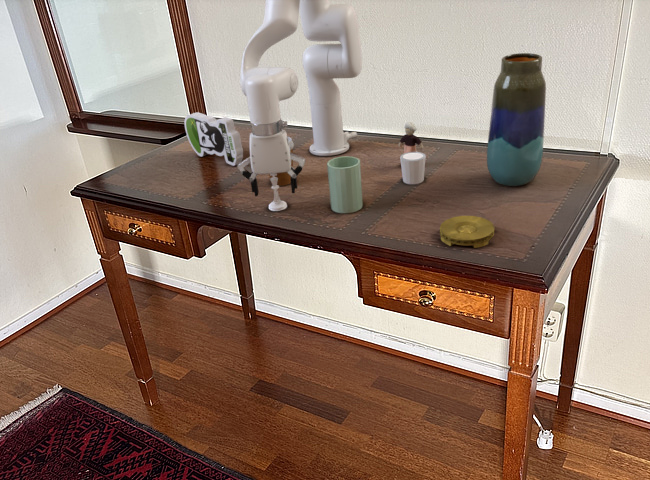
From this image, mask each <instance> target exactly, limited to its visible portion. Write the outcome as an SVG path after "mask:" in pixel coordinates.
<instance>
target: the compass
mask: <svg viewBox="0 0 650 480" xmlns="http://www.w3.org/2000/svg"><path fill="white" fill-rule="evenodd" d="M494 235H495V225H494V223H493V222H492V221H490V220H488V219H487V218H485V217H482V216H481V217H480V216H476V215H458V216H452V217H449V218H446V219H445V220H444V221H442V222H441V223H440V225H439V236H440V240H441V242H442V243H444V244H445V245H447V246H449V247H452V246H453V245H456V246H457V245H458V246H472V247H473V249H477V248H482V247H485V246H487V245H489V241H491V240H492V239H493V237H494Z"/></svg>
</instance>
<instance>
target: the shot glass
mask: <svg viewBox="0 0 650 480" xmlns="http://www.w3.org/2000/svg"><path fill="white" fill-rule="evenodd" d="M426 157H427V154H426V153H423V152H420V151H416V152H408V153H404V152H403V153H402V154H401V155H400V156H399V159H400V166H401V168H400V169H401V177H402V181H403V183H404V184H407V185H419V184H422V183H423V182H424V179H425V169H426V159H427V158H426Z"/></svg>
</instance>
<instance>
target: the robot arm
mask: <svg viewBox="0 0 650 480" xmlns="http://www.w3.org/2000/svg"><path fill="white" fill-rule="evenodd" d="M299 17H300V25H301V29H302V34H303V35H304V38H305V39H306V40H307V41H310V42H319V43H317V44H312V45H309V46H308V47H306V48H305V49H304V51H303V53H302V57H301V61H302V67H303V71H304V74H305V78H306V82H307V83H306V84H307V89H308V97H309V107H310V109H309V110H310V116H311V117H310V118H311V127H312V137H313V143H312V144H311V145H310V146H309V152H310V153H311V154H312V155H313V156H319V157H330V156H331V157H333V156H338V155H342V154H343V153H346V152H347V151H348V150H349V149H350V143H349V142H348V141H350V140H353V139H356V138H358V133H357V131H351V132H349V131H345V132H344V122H343V109H342V97H341V96H342V95H341V91H340V88H339V86H338V84H337V83H336V81H335V80H334V79H354V78H357V77H358V76H359V75H360V74H361V72H362V66H363V57H362V56H363V55H362V54H363V53H362V47H361V46H362V45H361V34H360V26H359V20H358V15H357V11H356V10H355V7H353V6H352V5H351V4H348V3H334V4H333V3H331V2H330V0H265V3H264V11H263V21H262V24H261V25H260V26H259V27H258V28H257V29H256V30H255V32H254V33H253V34H252V36H251V37H250V38H249V40H248V42H247V43H246V46H245V47H244V50H243V53H242V57H241V65H240V74H239V85H240V90H241V92H242V94H243V96H245V97H246V101H247V108H248V114H249V121H250V122H249V124H250V129H251V132H249V137H248V138H249V141H248V142H249V156H248V157H247V158H245V159H243V160H242V162H240V163H239V164H237V165H236V167H237V169H238V171H239V172H240V173H241V175H242V176H243V177H244V178H245V179H247V180H248V181H249V182H250V187H251V188H250V189H251V192H252V193H254V197H258V196H259V194H260V193H259V185H258V178H257V176H258V175H269V174H271V173H282V172H287V173H288V174H289V175H290V176H291V178H290V180H291V183H290V187H291V189H290V190H291V193H292V194H295V193H296V190H297V189H298V180H297V178H298V175H299V174H300V173H301V172H302V171H303V168H304V166H305V163H306V158H305V157H303V156H300V155H298V154H295V153H294V152H293V153H290V147H289V142H288V137H289V136H288V134H287V131H286V130H285V128H288V121H285V120H283V119H282V117H281V107H280V102H282V101H286V100H289V99H291V98H292V97H293V96H294V95H295V94H296V93H297V90H298V88H299V78H298V75H297V73H296V72H295V70H293V69H292V68H290V67H287V66H259V64H260V61H261V59H262V57H263V55H264V54H265V53H266V51H268V50H269V49H270V48H271V47H273V46H274V45H276V44H278V43H280V42H281V41H283V40H285V39H286V38H288V37H290V36H292V35H293V34H295V33H296V31H297V29H298V26H299ZM321 42H339V43H321ZM292 160H293V162H296V163H298V165H297V166H296V167H295V168H294V166H293V167H292V166H291V164H292ZM249 165H250V167H251V168H250V169H251V172H250V171H249V170H247V169H246V167H247V166H249Z"/></svg>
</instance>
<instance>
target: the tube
mask: <svg viewBox="0 0 650 480" xmlns="http://www.w3.org/2000/svg"><path fill="white" fill-rule="evenodd" d="M361 169H362V167H361V160H360V158H358V157H356V156H351V155H345V156H337V157H334V158H333V157H332V158H331V159H329V160H328V161H327V163H326V170H327V178H328V179H327V180H328V181H327V182H328V191H329V201H330V202H329V203H330V209H331V210H332V211H333V212H335V213H338V214H351V213H354V212H359V210H361V209H362V208H363V206H364V202H363V201H364V200H363V186H362V185H363V184H362V170H361Z"/></svg>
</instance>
